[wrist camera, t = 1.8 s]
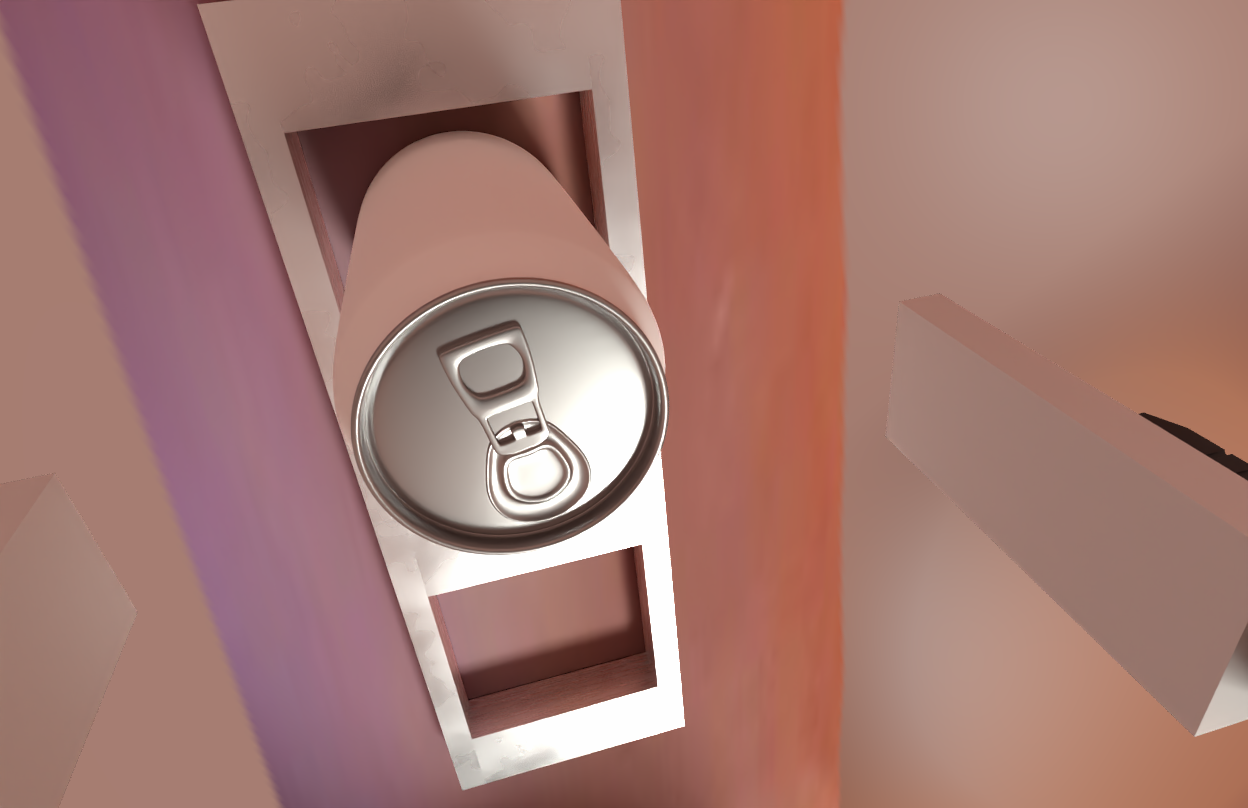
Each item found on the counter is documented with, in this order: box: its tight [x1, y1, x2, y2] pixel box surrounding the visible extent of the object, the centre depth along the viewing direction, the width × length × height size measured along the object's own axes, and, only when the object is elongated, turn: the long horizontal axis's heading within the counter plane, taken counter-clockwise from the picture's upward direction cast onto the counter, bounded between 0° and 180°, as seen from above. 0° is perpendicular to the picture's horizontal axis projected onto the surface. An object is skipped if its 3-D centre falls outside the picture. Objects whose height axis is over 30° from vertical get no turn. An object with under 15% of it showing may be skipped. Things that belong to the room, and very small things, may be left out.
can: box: [333, 131, 669, 555], centre depth 19 cm, size 6×6×12 cm
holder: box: [197, 0, 685, 790], centre depth 27 cm, size 30×10×2 cm, turn 6°
